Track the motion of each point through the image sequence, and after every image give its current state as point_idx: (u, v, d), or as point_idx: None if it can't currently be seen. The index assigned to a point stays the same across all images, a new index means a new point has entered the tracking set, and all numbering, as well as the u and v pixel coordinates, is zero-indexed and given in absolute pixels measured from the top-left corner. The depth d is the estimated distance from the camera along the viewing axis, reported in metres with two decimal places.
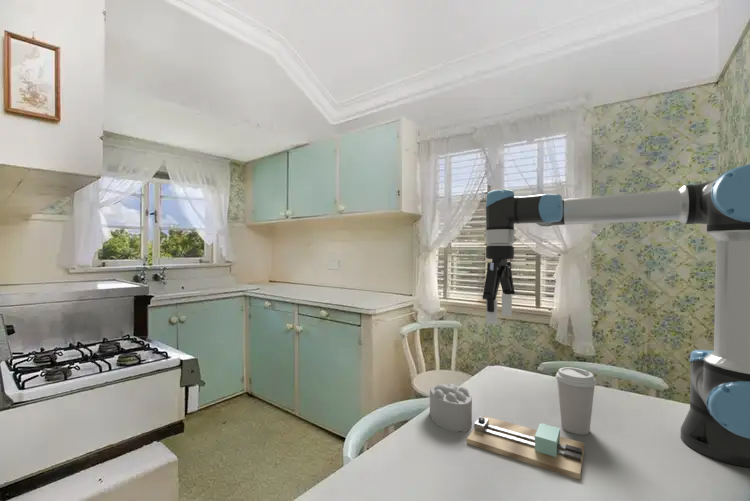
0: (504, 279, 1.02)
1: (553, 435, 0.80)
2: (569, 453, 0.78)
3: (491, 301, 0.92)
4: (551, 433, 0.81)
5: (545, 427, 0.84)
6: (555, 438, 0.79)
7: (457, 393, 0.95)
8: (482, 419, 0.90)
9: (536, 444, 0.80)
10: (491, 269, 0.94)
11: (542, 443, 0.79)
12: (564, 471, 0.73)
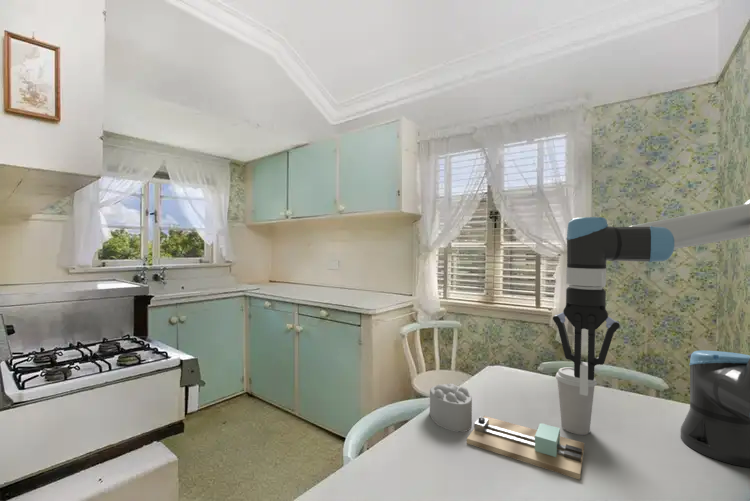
0: (588, 335, 0.77)
1: (553, 435, 0.80)
2: (569, 453, 0.78)
3: (574, 364, 0.78)
4: (551, 433, 0.81)
5: (545, 427, 0.84)
6: (555, 438, 0.79)
7: (457, 393, 0.95)
8: (482, 419, 0.90)
9: (536, 444, 0.80)
10: None
11: (542, 443, 0.79)
12: (564, 471, 0.73)
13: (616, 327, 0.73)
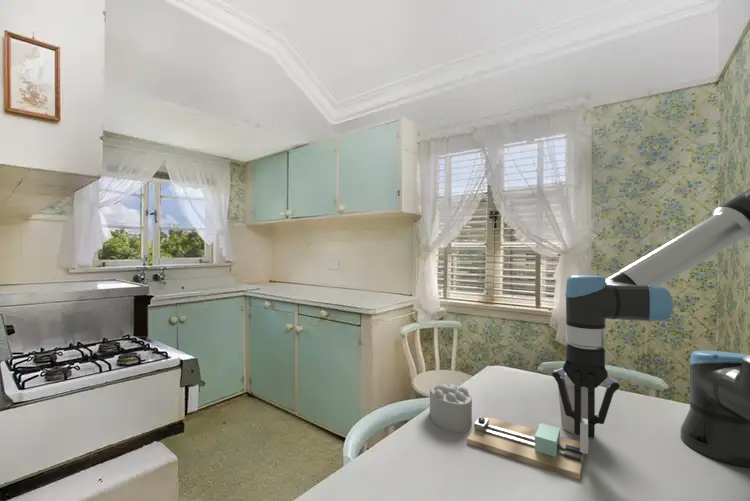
0: (588, 393, 0.77)
1: (553, 435, 0.80)
2: (569, 453, 0.78)
3: (574, 420, 0.78)
4: (551, 433, 0.81)
5: (545, 427, 0.84)
6: (555, 438, 0.79)
7: (457, 393, 0.95)
8: (482, 419, 0.90)
9: (536, 444, 0.80)
10: None
11: (542, 443, 0.79)
12: (564, 471, 0.73)
13: (616, 387, 0.73)
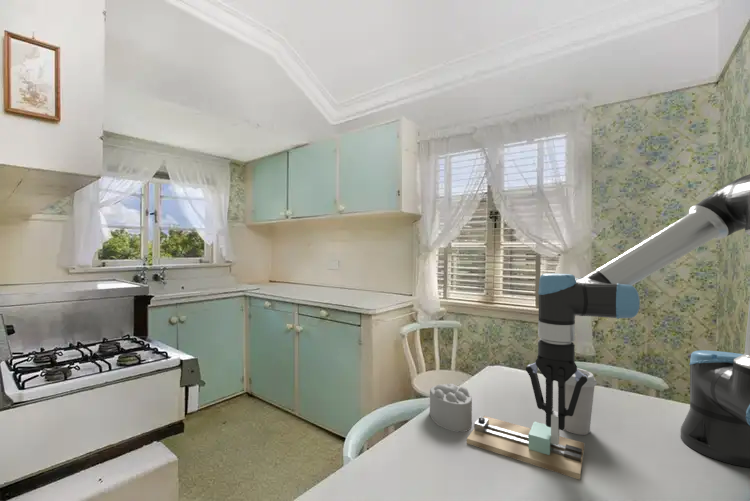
0: None
1: (547, 433, 0.81)
2: (569, 453, 0.78)
3: (546, 413, 0.81)
4: (544, 431, 0.82)
5: (539, 425, 0.84)
6: (548, 436, 0.80)
7: (457, 393, 0.95)
8: (482, 419, 0.90)
9: (530, 442, 0.80)
10: None
11: (536, 441, 0.80)
12: (564, 471, 0.73)
13: (584, 381, 0.76)
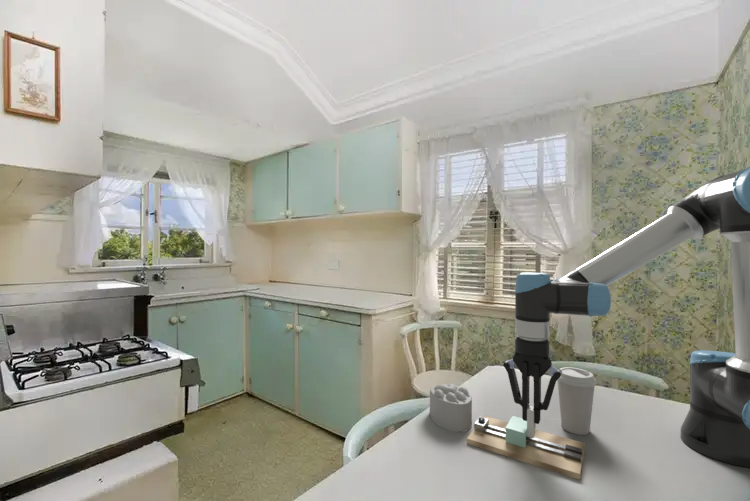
0: (534, 382, 0.83)
1: (523, 426, 0.84)
2: (569, 453, 0.78)
3: (522, 407, 0.84)
4: (521, 425, 0.85)
5: (516, 420, 0.87)
6: (524, 430, 0.82)
7: (457, 393, 0.95)
8: (482, 419, 0.90)
9: (507, 435, 0.83)
10: None
11: (512, 434, 0.83)
12: (564, 471, 0.73)
13: (557, 376, 0.79)
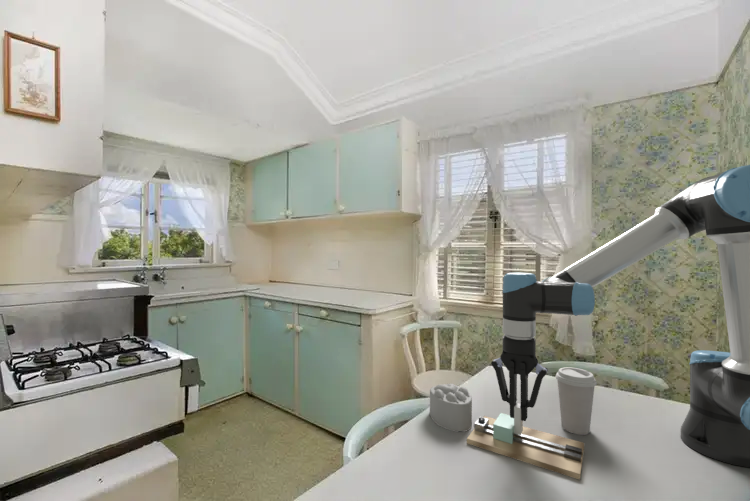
0: None
1: (511, 423, 0.85)
2: (569, 453, 0.78)
3: (510, 405, 0.86)
4: (509, 421, 0.86)
5: (505, 416, 0.89)
6: (512, 426, 0.84)
7: (457, 393, 0.95)
8: (482, 419, 0.90)
9: (494, 432, 0.85)
10: None
11: (499, 431, 0.84)
12: (564, 471, 0.73)
13: (543, 374, 0.81)
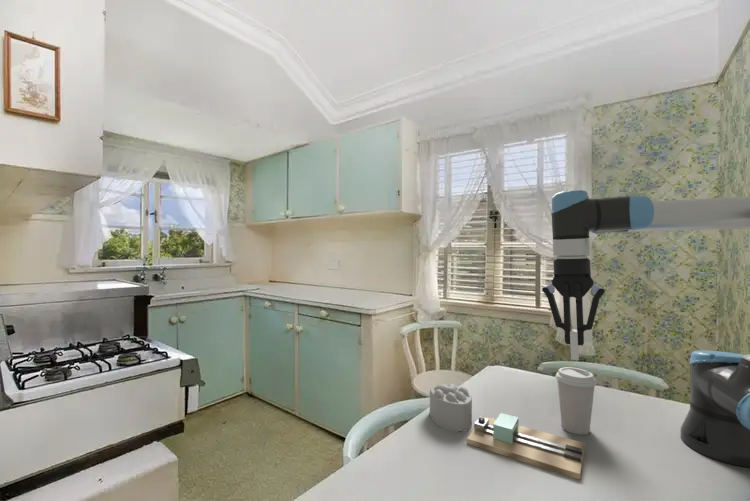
0: (576, 303, 0.81)
1: (511, 423, 0.85)
2: (569, 453, 0.78)
3: None
4: (509, 421, 0.86)
5: (505, 416, 0.89)
6: (512, 426, 0.84)
7: (457, 393, 0.95)
8: (482, 419, 0.90)
9: (494, 432, 0.85)
10: None
11: (499, 431, 0.84)
12: (564, 471, 0.73)
13: (601, 293, 0.77)
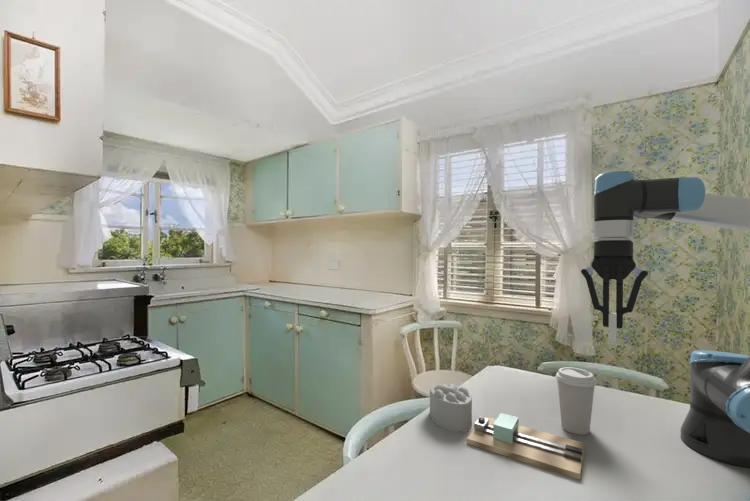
0: (616, 285, 0.80)
1: (511, 423, 0.85)
2: (569, 453, 0.78)
3: None
4: (509, 421, 0.86)
5: (505, 416, 0.89)
6: (512, 426, 0.84)
7: (457, 393, 0.95)
8: (482, 419, 0.90)
9: (494, 432, 0.85)
10: None
11: (499, 431, 0.84)
12: (564, 471, 0.73)
13: (644, 275, 0.76)
